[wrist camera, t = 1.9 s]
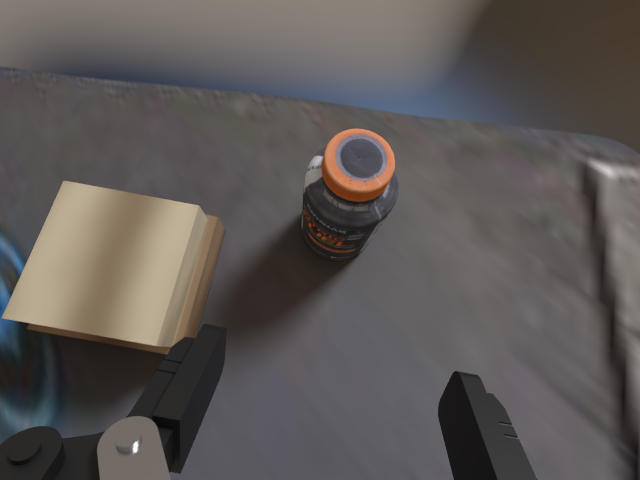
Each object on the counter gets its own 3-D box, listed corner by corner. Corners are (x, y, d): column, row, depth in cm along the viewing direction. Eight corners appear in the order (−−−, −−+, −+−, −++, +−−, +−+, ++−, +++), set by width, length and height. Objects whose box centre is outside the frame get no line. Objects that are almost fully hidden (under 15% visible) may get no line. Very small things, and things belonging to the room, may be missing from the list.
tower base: (56, 332, 26) (-11, 325, 20) (105, 208, 29) (59, 172, 23) (191, 356, 26) (161, 356, 20) (225, 230, 29) (208, 200, 24)
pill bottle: (287, 239, 29) (283, 172, 19) (323, 184, 31) (338, 94, 20) (350, 275, 29) (384, 227, 18) (383, 217, 31) (431, 142, 20)
